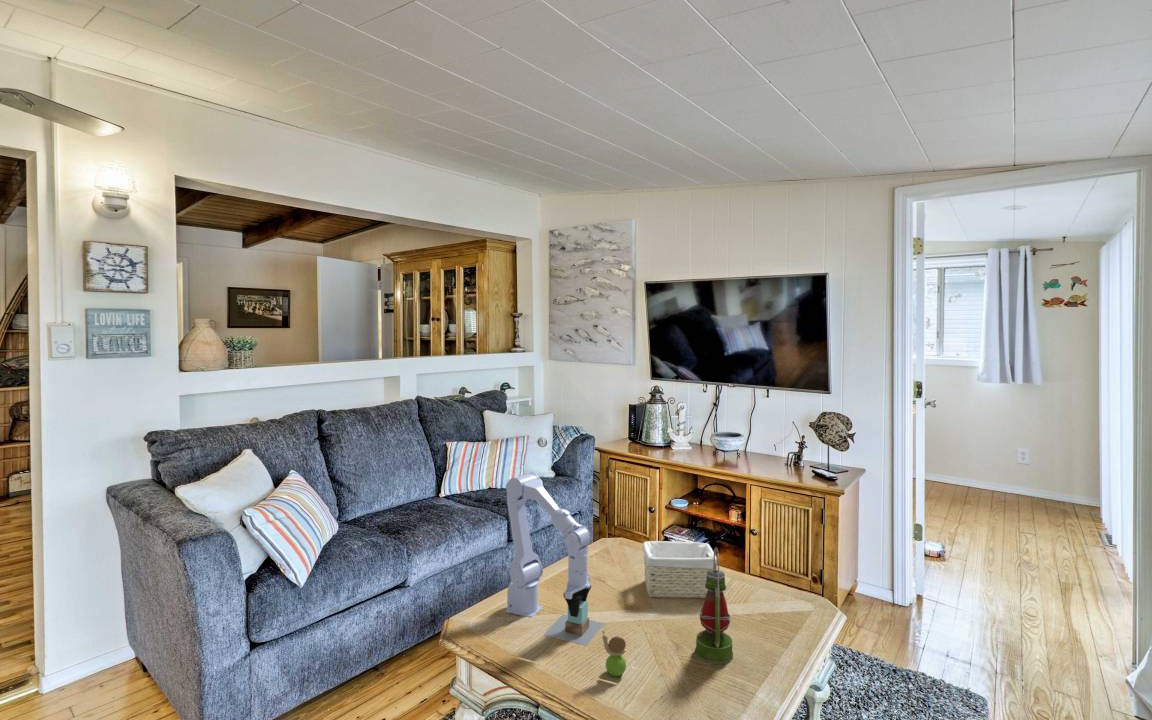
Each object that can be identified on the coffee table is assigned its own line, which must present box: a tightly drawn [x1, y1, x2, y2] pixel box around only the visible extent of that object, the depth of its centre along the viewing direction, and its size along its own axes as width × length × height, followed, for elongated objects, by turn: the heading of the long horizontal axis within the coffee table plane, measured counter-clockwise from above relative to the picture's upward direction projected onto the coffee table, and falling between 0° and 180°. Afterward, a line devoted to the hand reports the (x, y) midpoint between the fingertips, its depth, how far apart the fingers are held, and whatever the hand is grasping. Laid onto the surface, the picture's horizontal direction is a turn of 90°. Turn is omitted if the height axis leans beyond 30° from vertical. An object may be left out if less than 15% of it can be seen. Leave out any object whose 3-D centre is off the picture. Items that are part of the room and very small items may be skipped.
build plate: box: [543, 613, 605, 646], centre depth 180 cm, size 14×14×1 cm
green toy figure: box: [601, 630, 627, 677], centre depth 157 cm, size 5×6×12 cm
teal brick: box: [567, 600, 589, 625], centre depth 179 cm, size 4×4×5 cm
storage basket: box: [642, 540, 718, 599], centre depth 208 cm, size 24×16×15 cm
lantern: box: [694, 547, 734, 665], centre depth 167 cm, size 14×11×30 cm
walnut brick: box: [565, 617, 590, 636], centre depth 180 cm, size 6×6×3 cm
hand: (577, 612), depth 179 cm, fingers closed on teal brick, 4 cm apart
